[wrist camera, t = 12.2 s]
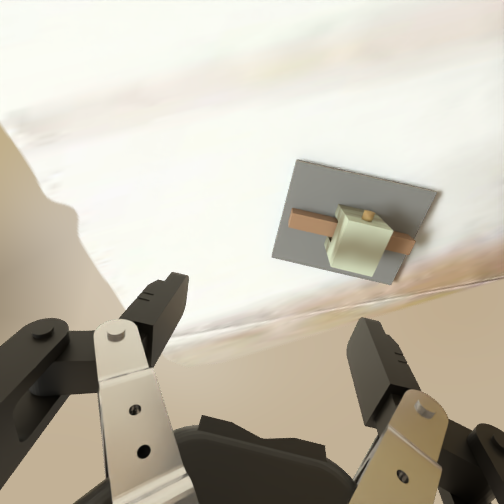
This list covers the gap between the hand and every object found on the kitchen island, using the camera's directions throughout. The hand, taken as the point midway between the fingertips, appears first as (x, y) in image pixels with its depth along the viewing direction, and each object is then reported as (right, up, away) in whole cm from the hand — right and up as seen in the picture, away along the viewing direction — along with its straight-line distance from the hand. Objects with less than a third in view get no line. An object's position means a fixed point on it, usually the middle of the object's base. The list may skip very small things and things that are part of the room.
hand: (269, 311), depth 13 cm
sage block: (+12, +6, +25) cm, 29 cm away
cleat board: (+12, +7, +26) cm, 30 cm away
